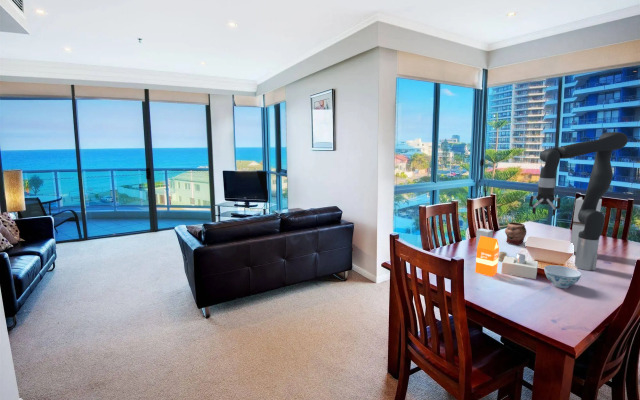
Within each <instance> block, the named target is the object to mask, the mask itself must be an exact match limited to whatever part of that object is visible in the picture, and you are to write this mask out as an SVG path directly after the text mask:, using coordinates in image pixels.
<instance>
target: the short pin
mask: <svg viewBox="0 0 640 400" xmlns="http://www.w3.org/2000/svg"><path fill="white" fill-rule="evenodd" d="M507 254H508V253H507V252H505V251H499V255H498V262H500V263H502V262H503V260H504V257H505V256H507Z"/></svg>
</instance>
